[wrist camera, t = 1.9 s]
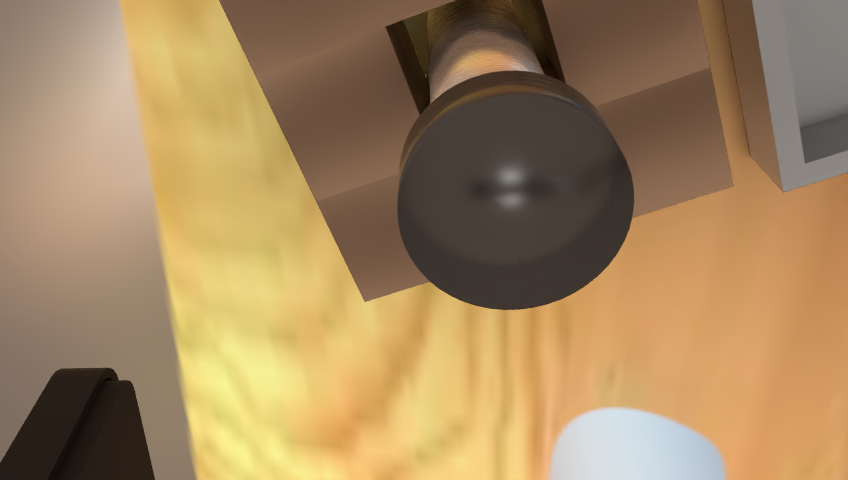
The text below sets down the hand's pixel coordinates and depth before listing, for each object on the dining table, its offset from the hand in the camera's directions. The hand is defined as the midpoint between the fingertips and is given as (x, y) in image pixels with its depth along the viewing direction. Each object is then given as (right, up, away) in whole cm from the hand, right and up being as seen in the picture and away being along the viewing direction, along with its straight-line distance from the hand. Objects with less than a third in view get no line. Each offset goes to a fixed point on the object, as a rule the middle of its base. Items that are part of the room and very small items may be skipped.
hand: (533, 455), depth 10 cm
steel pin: (0, +10, +17) cm, 20 cm away
